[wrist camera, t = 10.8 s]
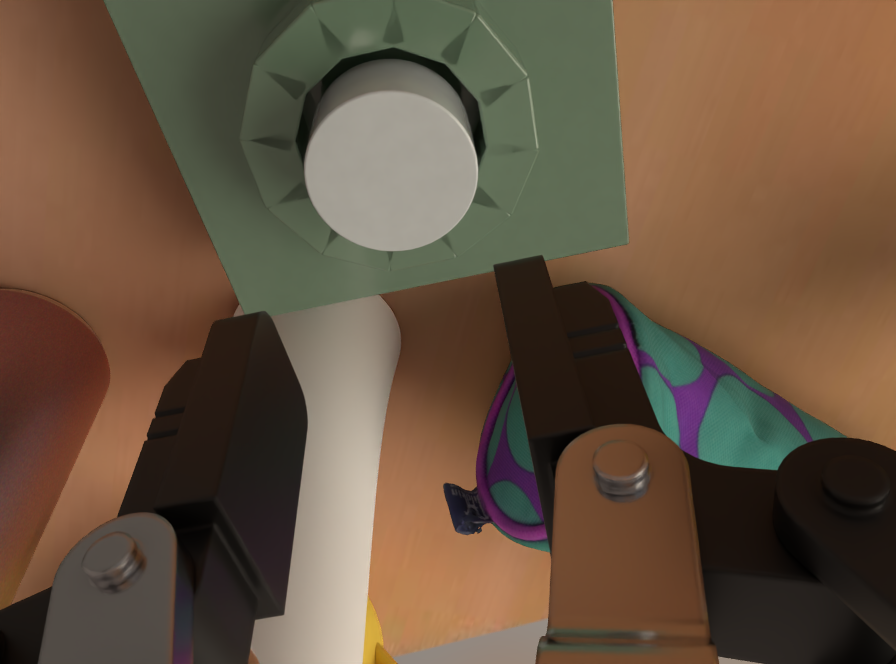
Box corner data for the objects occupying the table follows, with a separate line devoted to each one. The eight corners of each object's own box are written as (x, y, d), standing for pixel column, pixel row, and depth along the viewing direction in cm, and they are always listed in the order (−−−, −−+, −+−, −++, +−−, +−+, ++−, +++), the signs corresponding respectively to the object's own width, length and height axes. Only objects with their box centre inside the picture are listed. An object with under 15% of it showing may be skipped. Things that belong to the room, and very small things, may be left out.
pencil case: (434, 393, 30) (449, 616, 22) (584, 222, 25) (668, 423, 18) (785, 563, 37) (887, 770, 30) (944, 453, 33) (1109, 662, 26)
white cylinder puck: (337, 222, 19) (332, 266, 17) (290, 77, 17) (279, 113, 15) (482, 191, 18) (491, 234, 17) (454, 41, 16) (460, 72, 15)
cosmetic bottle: (201, 356, 28) (-124, 1384, 10) (285, 235, 25) (35, 1358, 7) (343, 423, 30) (277, 1349, 13) (434, 320, 27) (510, 1320, 10)
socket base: (266, 247, 25) (236, 361, 20) (132, -87, 19) (46, -37, 15) (597, 178, 25) (646, 279, 20) (563, -194, 19) (622, -177, 14)
